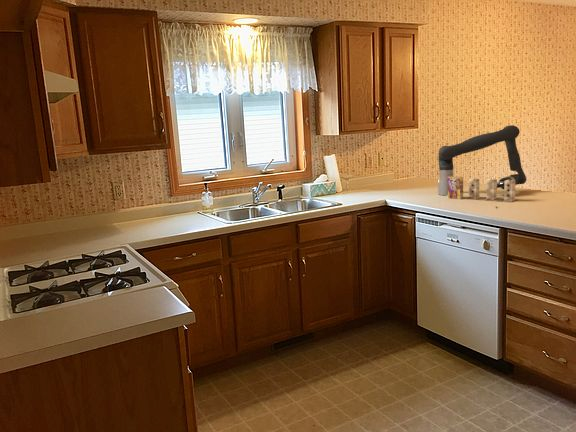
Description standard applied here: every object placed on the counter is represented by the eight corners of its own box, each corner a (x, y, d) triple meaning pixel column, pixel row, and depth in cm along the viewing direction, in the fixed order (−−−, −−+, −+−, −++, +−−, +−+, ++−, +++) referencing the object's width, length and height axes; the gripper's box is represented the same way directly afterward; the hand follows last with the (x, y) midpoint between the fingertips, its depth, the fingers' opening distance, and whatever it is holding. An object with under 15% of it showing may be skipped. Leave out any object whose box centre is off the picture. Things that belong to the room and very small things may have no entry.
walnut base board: (464, 201, 311) (464, 198, 310) (471, 198, 317) (471, 196, 317) (512, 204, 289) (512, 202, 289) (519, 202, 296) (519, 199, 296)
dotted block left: (469, 198, 311) (469, 179, 309) (472, 197, 314) (472, 178, 312) (475, 198, 308) (476, 179, 306) (479, 197, 311) (479, 178, 309)
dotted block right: (504, 200, 295) (504, 180, 293) (507, 199, 299) (507, 179, 296) (511, 201, 292) (512, 181, 290) (514, 200, 295) (515, 179, 293)
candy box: (463, 200, 313) (463, 176, 310) (459, 201, 310) (459, 177, 307) (451, 199, 320) (451, 176, 317) (447, 200, 317) (447, 176, 314)
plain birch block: (486, 199, 303) (486, 179, 301) (489, 198, 306) (489, 178, 304) (493, 199, 300) (493, 180, 298) (496, 198, 303) (496, 179, 301)
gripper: (496, 176, 321) (485, 180, 310) (517, 177, 312) (506, 181, 300) (496, 187, 323) (484, 191, 311) (517, 189, 313) (506, 193, 302)
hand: (495, 186), depth 306 cm, fingers closed
